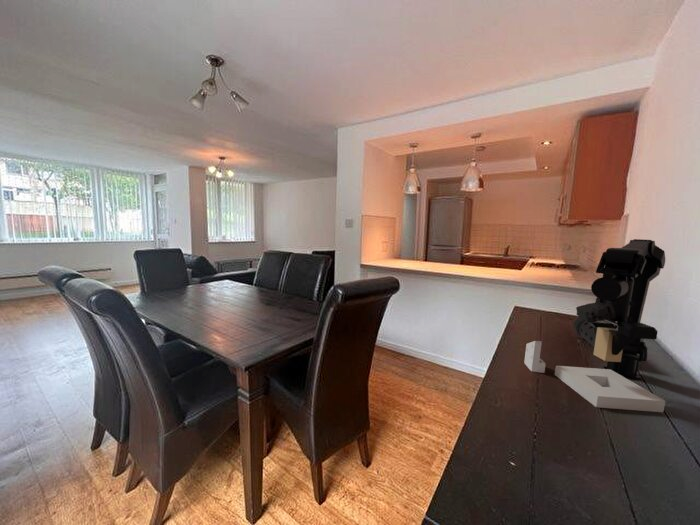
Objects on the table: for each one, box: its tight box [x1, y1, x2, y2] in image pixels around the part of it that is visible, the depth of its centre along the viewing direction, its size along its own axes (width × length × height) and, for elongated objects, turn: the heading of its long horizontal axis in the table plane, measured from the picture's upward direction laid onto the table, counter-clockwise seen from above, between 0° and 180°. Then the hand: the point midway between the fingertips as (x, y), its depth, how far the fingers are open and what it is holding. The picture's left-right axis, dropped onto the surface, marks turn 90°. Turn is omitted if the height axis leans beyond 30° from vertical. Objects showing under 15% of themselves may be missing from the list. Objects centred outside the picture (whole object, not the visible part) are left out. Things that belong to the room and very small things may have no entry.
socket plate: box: [554, 365, 666, 413], centre depth 79 cm, size 16×16×3 cm
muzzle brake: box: [572, 316, 596, 348], centre depth 109 cm, size 10×28×10 cm, turn 158°
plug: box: [592, 327, 623, 362], centre depth 77 cm, size 4×4×8 cm
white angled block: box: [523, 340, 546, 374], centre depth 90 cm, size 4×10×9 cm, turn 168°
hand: (607, 351), depth 78 cm, fingers closed on plug, 4 cm apart
